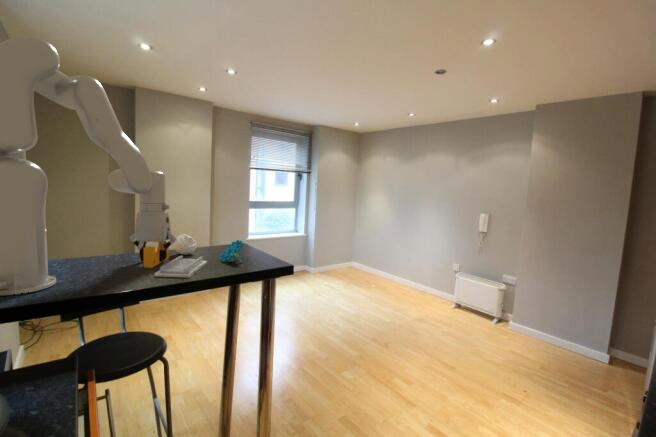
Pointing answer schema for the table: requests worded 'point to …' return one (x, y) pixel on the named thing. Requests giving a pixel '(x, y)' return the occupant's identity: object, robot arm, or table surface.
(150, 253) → the pipe clamp
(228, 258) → the blue lumpy piece
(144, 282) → the table surface
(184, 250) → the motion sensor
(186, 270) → the rail plate
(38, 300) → the table surface
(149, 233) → the robot arm
